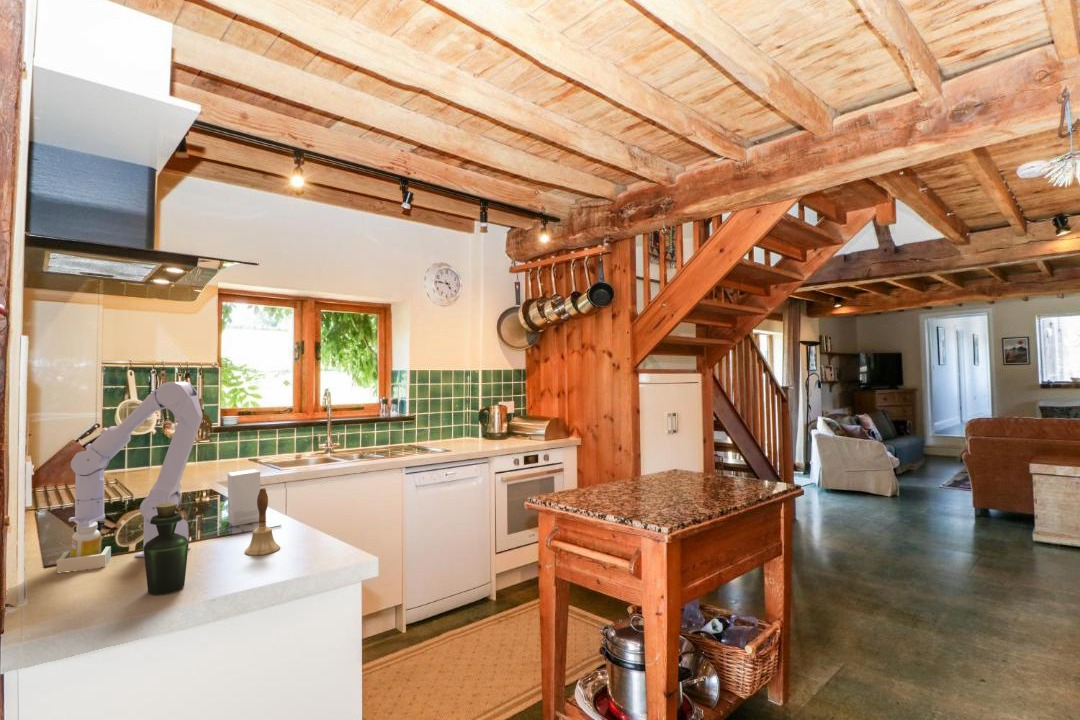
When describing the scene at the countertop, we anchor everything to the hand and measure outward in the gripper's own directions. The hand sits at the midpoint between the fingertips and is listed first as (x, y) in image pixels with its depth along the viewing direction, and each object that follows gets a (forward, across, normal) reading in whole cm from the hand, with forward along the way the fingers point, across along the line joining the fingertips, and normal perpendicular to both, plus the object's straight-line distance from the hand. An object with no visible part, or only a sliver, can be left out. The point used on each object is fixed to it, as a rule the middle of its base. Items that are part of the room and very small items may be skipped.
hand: (89, 553), depth 142 cm
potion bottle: (+2, +34, +18) cm, 38 cm away
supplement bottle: (+1, +4, 0) cm, 4 cm away
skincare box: (+2, -19, +35) cm, 40 cm away
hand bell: (+2, +15, +38) cm, 41 cm away
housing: (+1, +6, 0) cm, 6 cm away
